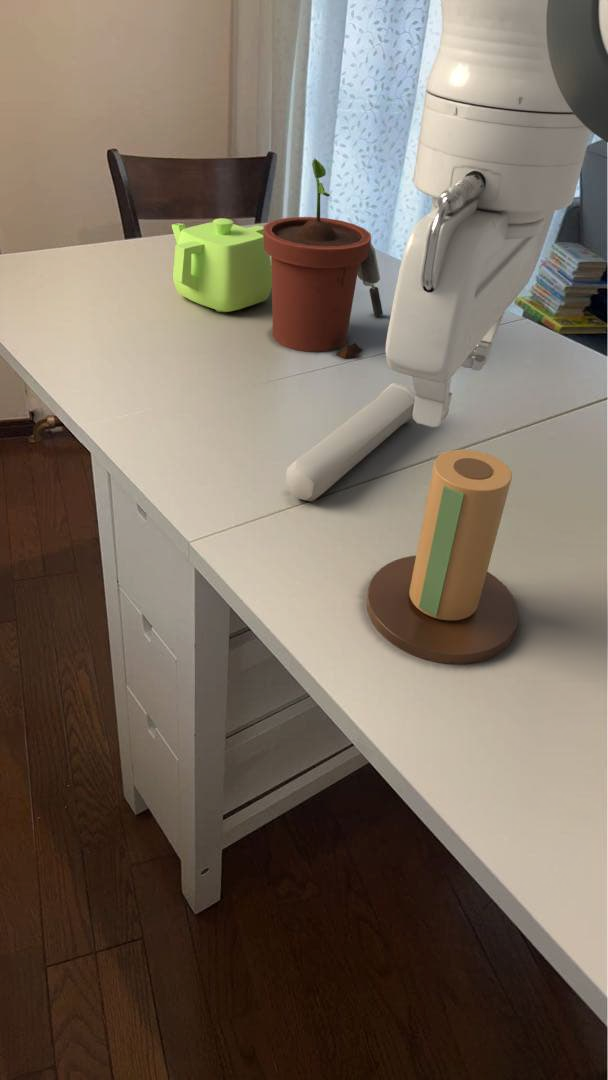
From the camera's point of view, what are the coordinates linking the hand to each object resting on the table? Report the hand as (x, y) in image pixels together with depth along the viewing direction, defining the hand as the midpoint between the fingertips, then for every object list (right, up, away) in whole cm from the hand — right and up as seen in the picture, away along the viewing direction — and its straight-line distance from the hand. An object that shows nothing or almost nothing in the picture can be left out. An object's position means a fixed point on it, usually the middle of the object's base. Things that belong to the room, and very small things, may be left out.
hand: (452, 391), depth 52 cm
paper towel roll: (+3, -15, +22) cm, 27 cm away
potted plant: (-6, +23, +75) cm, 78 cm away
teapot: (-25, +32, +85) cm, 94 cm away
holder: (+3, -16, +23) cm, 29 cm away
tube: (-4, 0, +45) cm, 45 cm away
